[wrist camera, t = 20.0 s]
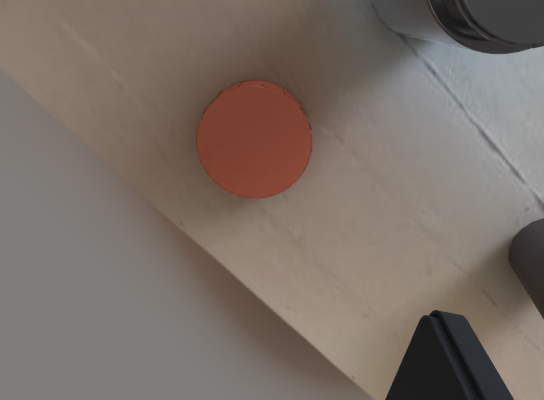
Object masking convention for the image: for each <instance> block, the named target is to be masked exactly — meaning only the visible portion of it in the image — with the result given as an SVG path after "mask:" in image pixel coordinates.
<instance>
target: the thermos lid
mask: <svg viewBox="0 0 544 400" xmlns="http://www.w3.org/2000/svg"><path fill="white" fill-rule="evenodd" d="M203 114H204V115H203V117H202V118H201V121H200V124H199V127H198V131H197V150H198V155H199V158H200V161H201V163H202V166H203V168H204V169H205V171H206V172H207V174H208V175H209V176H210V178H211V179H212V180H213V181H214V182H215V183H216V184H217V185H219V186H220V187H222V188H223V189H225V190H226V191H228V192H230V193H233V194H235V195H238V196H242V197H247V198H264V197H269V196H273V195H276V194H278V193H280V192H282V191H284V190H286V189H287V188H289V187H290V186H292V185H293V184H294V183H295V182H296V181H297V180H298V179H299V178H300V176H301V175H302V173H303V172H304V170H305V169H306V166H307V164H308V162H309V159H310V155H311V152H312V149H311V148H312V139H311V132H310V130H311V126H310V122H308V119H307V116H306V113H305V111H304V109H303V108H302V104H301V103H299V102H298V100H297V99H296V98H295V97H294V96H293V95H292V94H290V93H289V92H288V91H287V90H285V88H284V89H283V88H282V87H280V86H278V85H275V84H273V83H269V82H264V80H263V81H245V82H242V81H241V82H240V83H238V84H235V85H233V86H231V87H229V88H227V89H226V90H224V91H221V92H220V93H219V95H218V96H217V97H216V98H215V99H214V101H213V102H212V103H211V105H210V106H209V107H207V109H206V110H205V111H204V112H203Z"/></svg>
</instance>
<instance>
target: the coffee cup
mask: <svg viewBox="0 0 544 400" xmlns="http://www.w3.org/2000/svg"><path fill="white" fill-rule="evenodd" d="M509 260H510V264H511V267H512V268H513V270H514V272H515V273H516V275H517V277H518V278H519V280H520V281H521V283H522V285H523V286H524V288H525V290H526V291H527V293H528V294H529V296H530V298H531V299H532V301H533V303H534V304H535V306H536V307H537V309H538V311H539V312H540V314H541V315H542V317H543V319H544V219H541V220H539V221H536V222H533V223H531V224H530V225H528V226H527V227H525V228H524V229H522V230H521V231H520V232H519V234H518V235H517V236H516V237H515V238H514V240H513V242H512V244H511V247H510V251H509Z"/></svg>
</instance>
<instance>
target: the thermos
mask: <svg viewBox="0 0 544 400" xmlns="http://www.w3.org/2000/svg"><path fill="white" fill-rule="evenodd" d="M371 3H372V6H373V8H374V10H375V12H376V14H377V16H378V17H379V18H380V20H381V21H382V22H383V23H384V24H385V25H386V26H387V27H389V28H390V29H391V30H393V31H395V32H397V33H399V34H401V35H405V36H408V37H413V38H417V39H422V40H427V41H431V42H436V43H440V44H445V45H450V46H454V47H459V48H463V49H468V50H473V51H477V52H482V53H489V54H509V53H515V52H520V51H524V50H527V49H530V48H537V47H541V46H544V0H371Z"/></svg>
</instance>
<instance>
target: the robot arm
mask: <svg viewBox="0 0 544 400" xmlns="http://www.w3.org/2000/svg"><path fill="white" fill-rule="evenodd" d="M385 400H514V399H513V397H512V395H511V394H510V392H509V390H508V389H507V387H506V385H505V384H504V382H503V380H502V379H501V377H500V375H499V373H498V372H497V370H496V368H495V367H494V365H493V363H492V362H491V360H490V358H489V356H488V355H487V353H486V351H485V350H484V348H483V346H482V345H481V343H480V341H479V340H478V338H477V336H476V334H475V333H474V331H473V329H472V328H471V326H470V324H469V323H468V321H467V319H466V318H465V317H464V316H462V315H458V314H453V313H448V312H443V311H438V310H435V311H432V312H431V313H430V315H429V316H427V315H425V316H423V317H422V318H421V319H420V321H419V323H418V325H417V328H416V330H415V332H414V335H413V337H412V339H411V342H410V344H409V346H408V348H407V351H406V353H405V355H404V358H403V360H402V362H401V365H400V367H399V369H398V372H397V374H396V376H395V378H394V381H393V383H392V385H391V388H390V390H389V392H388V395H387V397H386V399H385Z"/></svg>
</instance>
